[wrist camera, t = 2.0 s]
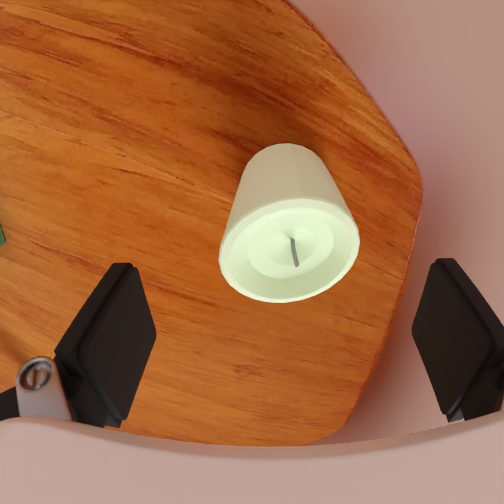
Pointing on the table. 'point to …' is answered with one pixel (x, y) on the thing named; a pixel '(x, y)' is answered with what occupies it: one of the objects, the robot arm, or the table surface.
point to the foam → (2, 237)
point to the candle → (287, 228)
